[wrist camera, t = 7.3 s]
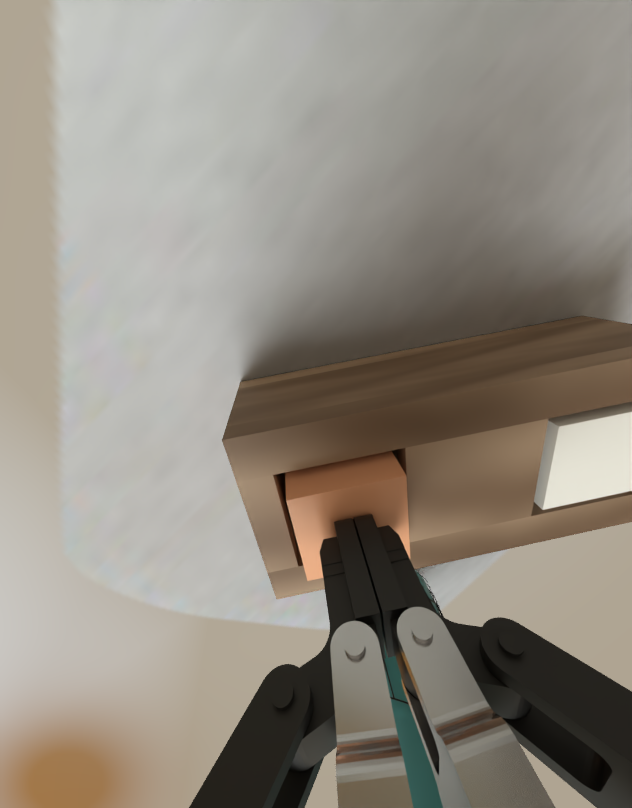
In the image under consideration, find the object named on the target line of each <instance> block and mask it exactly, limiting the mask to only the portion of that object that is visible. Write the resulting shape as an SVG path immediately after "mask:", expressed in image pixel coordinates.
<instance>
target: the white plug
mask: <svg viewBox="0 0 632 808" xmlns="http://www.w3.org/2000/svg"><path fill="white" fill-rule="evenodd" d="M628 491H632V402H627V403H622V404H617V405H612V406H607V407H603V408H598V409H593V410H588V411H583V412H578V413H573V414H568V415H563V416H559V417H554V418H549V419H548V425H547V430H546V436H545V441H544V447H543V453H542V458H541V464H540V469H539V475H538V481H537V486H536V492H535V497H534V502H535V503H536V504H537V505H538V506H539V507H540V508H541V509H542V510H545V509H549V508H554V507H559V506H563V505H568V504H573V503H577V502H582V501H587V500H591V499H596V498H601V497H605V496H610V495H615V494H619V493H624V492H628Z"/></svg>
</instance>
